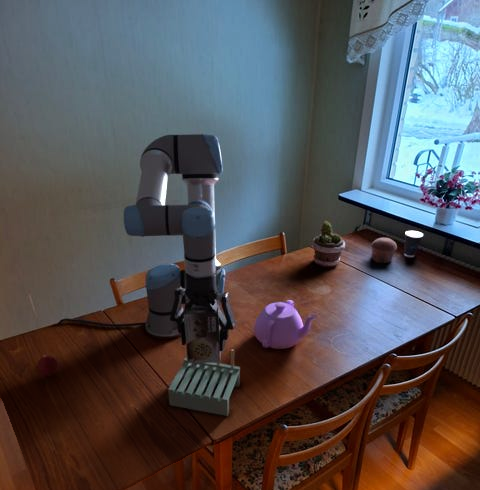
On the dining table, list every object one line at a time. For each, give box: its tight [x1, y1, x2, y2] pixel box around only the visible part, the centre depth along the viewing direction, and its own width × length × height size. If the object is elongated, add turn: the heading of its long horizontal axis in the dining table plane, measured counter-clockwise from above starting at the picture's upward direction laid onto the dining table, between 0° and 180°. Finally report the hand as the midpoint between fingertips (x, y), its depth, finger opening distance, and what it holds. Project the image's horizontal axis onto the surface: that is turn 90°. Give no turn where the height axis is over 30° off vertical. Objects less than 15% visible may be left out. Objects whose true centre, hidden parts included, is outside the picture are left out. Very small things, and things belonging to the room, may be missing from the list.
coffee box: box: [183, 301, 221, 363], centre depth 119 cm, size 9×6×16 cm
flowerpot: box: [311, 219, 346, 268], centre depth 201 cm, size 14×15×20 cm
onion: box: [36, 354, 59, 377], centre depth 136 cm, size 6×6×8 cm
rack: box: [167, 348, 241, 417], centre depth 128 cm, size 17×14×13 cm
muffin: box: [370, 237, 398, 264], centre depth 208 cm, size 12×11×10 cm
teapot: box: [253, 299, 318, 350], centre depth 151 cm, size 22×22×14 cm
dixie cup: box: [403, 230, 424, 258], centre depth 212 cm, size 8×8×11 cm
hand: (203, 345), depth 122 cm, fingers closed on coffee box, 10 cm apart
